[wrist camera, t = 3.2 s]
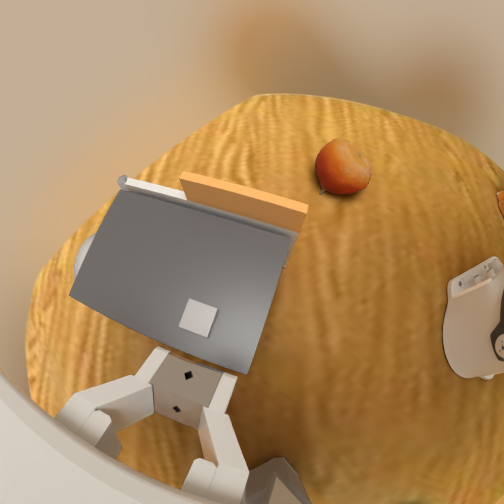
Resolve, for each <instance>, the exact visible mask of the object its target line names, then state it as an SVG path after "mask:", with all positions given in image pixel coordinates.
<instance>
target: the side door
mask: <svg viewBox="0 0 504 504" xmlns="http://www.w3.org/2000/svg"><path fill="white" fill-rule="evenodd" d="M179 179H180V182H181V184H182V187H183V190H184V191H180V190H176V189H172V188H168V187H164V186H160V185H156V184H152V183H148V182H144V181H140V180H136V179H131V178H128V177H127V176H126V175H123V176H121V177H119V179H118V184H119V186H120V187H121V189H122V190H124V191H128V192H132V193H135V194H139V195H143V196H146V197H150V198H154V199H157V200H161V201H165V202H168V203H172V204H175V205H179V206H183V207H186V208H190V209H193V210H197V211H200V212H204V213H207V214H211V215H214V216H217V217H221V218H224V219H228V220H231V221H234V222H238V223H241V224H245V225H248V226H251V227H255V228H258V229H261V230H264V231H268V232H271V233H274V234H278V235H281V236H284V237H287V238H290V239H291V241H290V244H289V247H288V251H287V254H286V257H285V261H284V264H283V268H285V266H286V264H287V262H288V259H289V257H290V254H291V252H292V249H293V247H294V244H295V242H296V239H297V237H298V234H299V232H300V229H301V226H302V224H303V221H304V219H305V216H306V213H307V210H308V206H309V205H307V204H304V203H301V202H298V201H294V200H291V199H288V198H284V197H281V196H278V195H274V194H271V193H267V192H264V191H260V190H257V189H253V188H249V187H246V186H242V185H238V184H235V183H231V182H227V181H223V180H219V179H215V178H211V177H207V176H203V175H199V174H195V173H191V172H186V171H183V173H182V174H181V176H180V178H179Z"/></svg>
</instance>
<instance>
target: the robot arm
mask: <svg viewBox="0 0 504 504" xmlns="http://www.w3.org/2000/svg"><path fill="white" fill-rule="evenodd" d="M458 283H459V284H458ZM447 293H448V305H447V309H446V313H445V318H444V324H443V344H444V350H445V354H446V357H447V360H448V362H449V364H450V366H451V368H452V369H453V370H454V372H455V373H456V374H458V375H459V376H461V377H463V378H473V377H480V378H482V379H484V380H489V379H492V378H493V376H494V375H495V374H499V373H504V264H502V262H501V261H500V260H499V258H497V257H496V256H493V257H490V258H488V259H487V260H485V261H483V262H482V263H480V264H478V265H476V266H475V267H473V268H471V269H469V270H468V271H466V272H464V273H462V274H460V275H458V276H457V277H455V278H453V279H451V280H450V281H449V282H448V286H447ZM237 378H238V377H237V376H234V375H231V374H228V373H225V372H224V373H223V371H220V370H217V369H214V368H212V367H209V366H206V365H203V364H200V363H198V362H197V363H196V362H194V361H191V360H189V359H187V358H184V357H182V356H180V355H177V354H175V353H173V352H171V351H168V350H166V349H164V348H161V347H159V346H158V347H156V348H155V349H154V350H153V351H152V353H151V354H150V355H149V357H148V358H147V359H146V361H145V362H144V364H143V365H142V366H141V368H140V369H139V370H138V372H137V373H136V374H135V376H133V375H131V374H130V375H128V376H125V377H122V378H119V379H116V380H113V381H110V382H107V383H105V384H101V385H98V386H95V387H92V388H89V389H86V390H83V391H80V392H76V393H75V394H74V395H73V396H72V397H71V398H70V399H69V401H68V402H67V403H66V404H65V405H64V407H63V408H62V409H61V410H60V412H59V413H58V414H57V415H56V416H55V418H53V417H52V416H51V415H49V414H48V413H47V412H46V411H45V410H43V409H42V408H41V407H40V406H39V405H38V404H36V403H35V402H34V401H33V400H32V399H31V398H30V397H29V396H27V395H26V394H25V393H24V392H23V391H22V390H21V389H20V388H19V387H18V386H17V385H16V384H15V383H14V382H13V381H12V380H11V379H10V378H9V377H8V376H7V375H6V374H5V373H4V372H3V371H2V370H1V368H0V504H240V502H241V499H242V496H243V492H244V489H245V486H246V482H247V479H248V475H249V470H248V467H247V465H246V462H245V460H244V457H243V454H242V451H241V449H240V446H239V443H238V440H237V438H236V435H235V432H234V429H233V426H232V423H231V420H230V417H229V415H227V414H225V413H226V410H227V407H228V404H229V401H230V399H231V396H232V393H233V390H234V387H235V384H236V381H237ZM154 412H156V413H158V414H160V415H163V416H165V417H168V418H170V419H173V420H175V421H177V422H180V423H182V424H184V425H187V426H189V427H192V428H194V429H196V430H198V434H199V438H200V443H201V447H202V451H203V456H204V459H201V458H198V459H196V460H194V462H193V464H192V466H191V469H190V471H189V473H188V475H187V477H186V480H185V482H184V484H183V486H182V488H181V490H180V489H177V488H175V487H172V486H170V485H167V484H165V483H162V482H160V481H158V480H156V479H153V478H151V477H149V476H147V475H145V474H143V473H140V472H138V471H136V470H134V469H132V468H130V467H129V466H127V465H125V464H123V463H121V462H119V461H117V460H116V458H117V456H118V455H119V453H120V451H121V449H122V445H121V443H120V440H119V438H118V436H117V433H116V432H118V431H121V430H123V429H125V428H127V427H129V426H131V425H133V424H135V423H136V422H138V421H140V420H142V419H144V418H146V417H148V416H150V415H152V414H154Z"/></svg>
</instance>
